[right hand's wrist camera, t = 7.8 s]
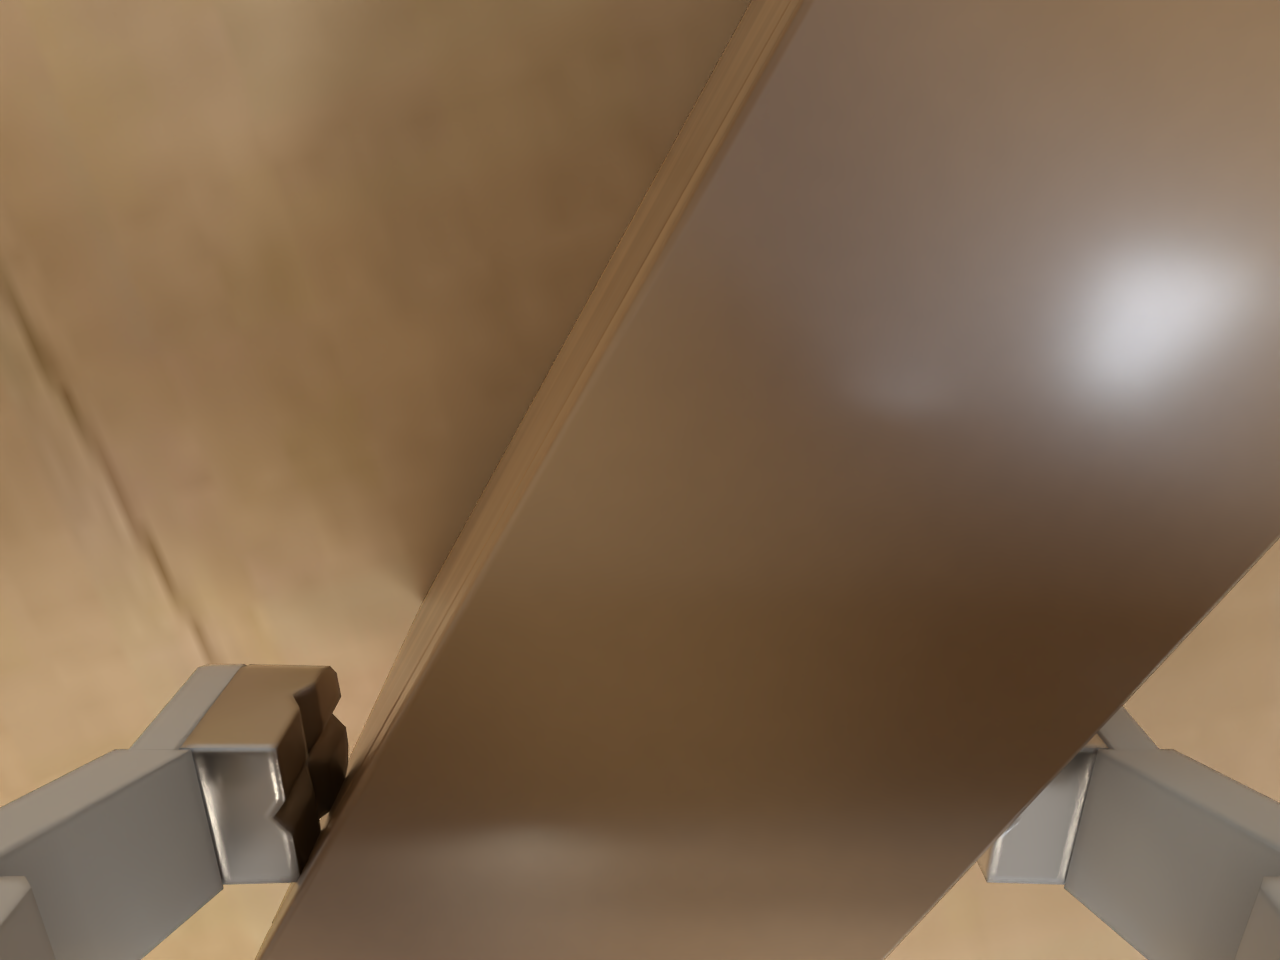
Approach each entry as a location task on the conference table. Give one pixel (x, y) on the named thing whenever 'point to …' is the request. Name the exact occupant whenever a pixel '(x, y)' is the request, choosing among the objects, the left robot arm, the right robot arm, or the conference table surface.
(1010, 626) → the cabinet
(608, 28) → the conference table surface
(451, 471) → the conference table surface
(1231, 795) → the right robot arm
